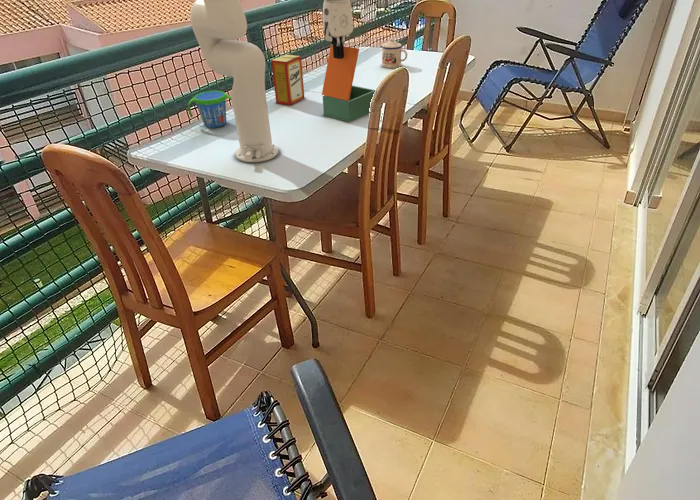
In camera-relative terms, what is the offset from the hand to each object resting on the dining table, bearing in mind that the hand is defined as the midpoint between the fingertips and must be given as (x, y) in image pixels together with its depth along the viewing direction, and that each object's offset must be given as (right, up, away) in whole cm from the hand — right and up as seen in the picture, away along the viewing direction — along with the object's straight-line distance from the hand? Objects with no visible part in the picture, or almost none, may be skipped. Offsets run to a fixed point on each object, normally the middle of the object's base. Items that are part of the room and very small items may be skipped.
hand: (338, 57), depth 161 cm
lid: (+1, -4, +3) cm, 5 cm away
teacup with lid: (+24, +21, +65) cm, 72 cm away
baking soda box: (-19, -6, +28) cm, 34 cm away
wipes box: (+4, -14, +14) cm, 20 cm away
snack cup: (-43, -20, +8) cm, 48 cm away
